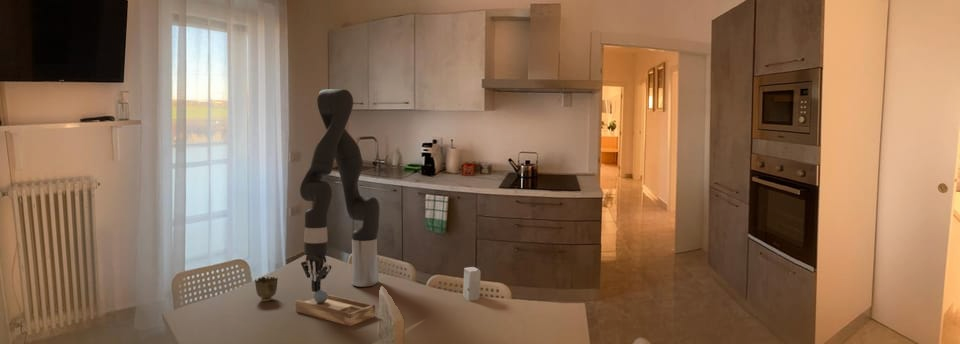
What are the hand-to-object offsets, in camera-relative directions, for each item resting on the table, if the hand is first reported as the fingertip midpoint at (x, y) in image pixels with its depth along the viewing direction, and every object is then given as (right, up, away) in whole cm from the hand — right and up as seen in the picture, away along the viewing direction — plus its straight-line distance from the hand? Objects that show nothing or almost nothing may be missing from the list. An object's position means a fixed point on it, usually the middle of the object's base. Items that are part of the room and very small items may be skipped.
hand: (315, 291), depth 182 cm
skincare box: (+52, -7, +10) cm, 53 cm away
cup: (-20, -6, +8) cm, 22 cm away
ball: (+2, -2, -1) cm, 3 cm away
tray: (+8, -7, -4) cm, 11 cm away
